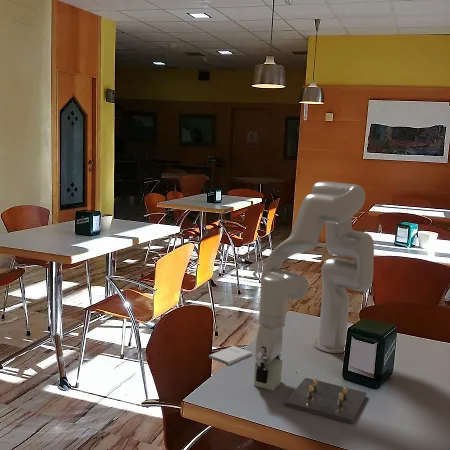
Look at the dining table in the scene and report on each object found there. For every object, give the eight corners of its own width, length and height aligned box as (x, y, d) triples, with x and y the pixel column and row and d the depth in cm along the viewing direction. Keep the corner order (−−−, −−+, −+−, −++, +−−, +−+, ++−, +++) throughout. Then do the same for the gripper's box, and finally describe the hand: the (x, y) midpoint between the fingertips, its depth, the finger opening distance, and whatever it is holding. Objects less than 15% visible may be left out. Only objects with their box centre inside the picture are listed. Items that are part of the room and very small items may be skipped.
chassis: (305, 381, 160) (306, 368, 159) (366, 396, 152) (367, 382, 151) (284, 405, 144) (285, 390, 143) (351, 424, 136) (353, 408, 135)
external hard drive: (208, 359, 174) (232, 349, 183) (228, 367, 169) (251, 356, 178) (208, 354, 173) (232, 345, 183) (228, 362, 168) (252, 351, 178)
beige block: (261, 378, 160) (263, 355, 160) (280, 383, 158) (282, 360, 157) (253, 385, 155) (255, 362, 154) (273, 390, 153) (274, 367, 152)
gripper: (270, 309, 163) (266, 363, 165) (247, 324, 148) (243, 383, 150) (294, 314, 160) (289, 369, 162) (273, 330, 144) (268, 390, 147)
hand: (267, 376), depth 156 cm, fingers open, 9 cm apart
